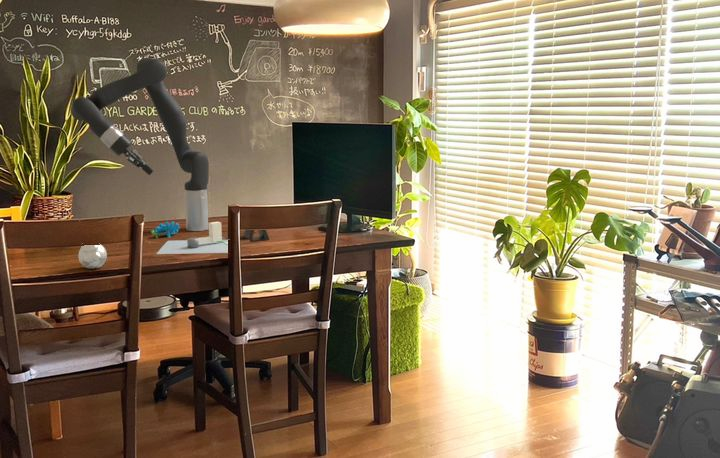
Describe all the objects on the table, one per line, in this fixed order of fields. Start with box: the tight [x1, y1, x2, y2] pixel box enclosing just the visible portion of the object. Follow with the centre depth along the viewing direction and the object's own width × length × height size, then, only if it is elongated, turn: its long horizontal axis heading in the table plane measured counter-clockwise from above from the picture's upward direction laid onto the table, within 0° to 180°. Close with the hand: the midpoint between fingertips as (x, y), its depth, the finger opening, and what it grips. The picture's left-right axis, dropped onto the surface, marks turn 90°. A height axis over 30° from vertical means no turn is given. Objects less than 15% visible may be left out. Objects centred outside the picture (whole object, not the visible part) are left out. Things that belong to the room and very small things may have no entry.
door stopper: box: [243, 229, 270, 242], centre depth 283 cm, size 9×6×12 cm, turn 117°
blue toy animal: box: [150, 221, 180, 239], centre depth 284 cm, size 11×6×10 cm
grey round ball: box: [78, 243, 108, 270], centre depth 235 cm, size 9×10×10 cm
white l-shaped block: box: [186, 221, 226, 248], centre depth 267 cm, size 16×4×8 cm, turn 136°
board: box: [156, 239, 229, 255], centre depth 266 cm, size 25×26×2 cm
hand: (151, 173), depth 270 cm, fingers closed
